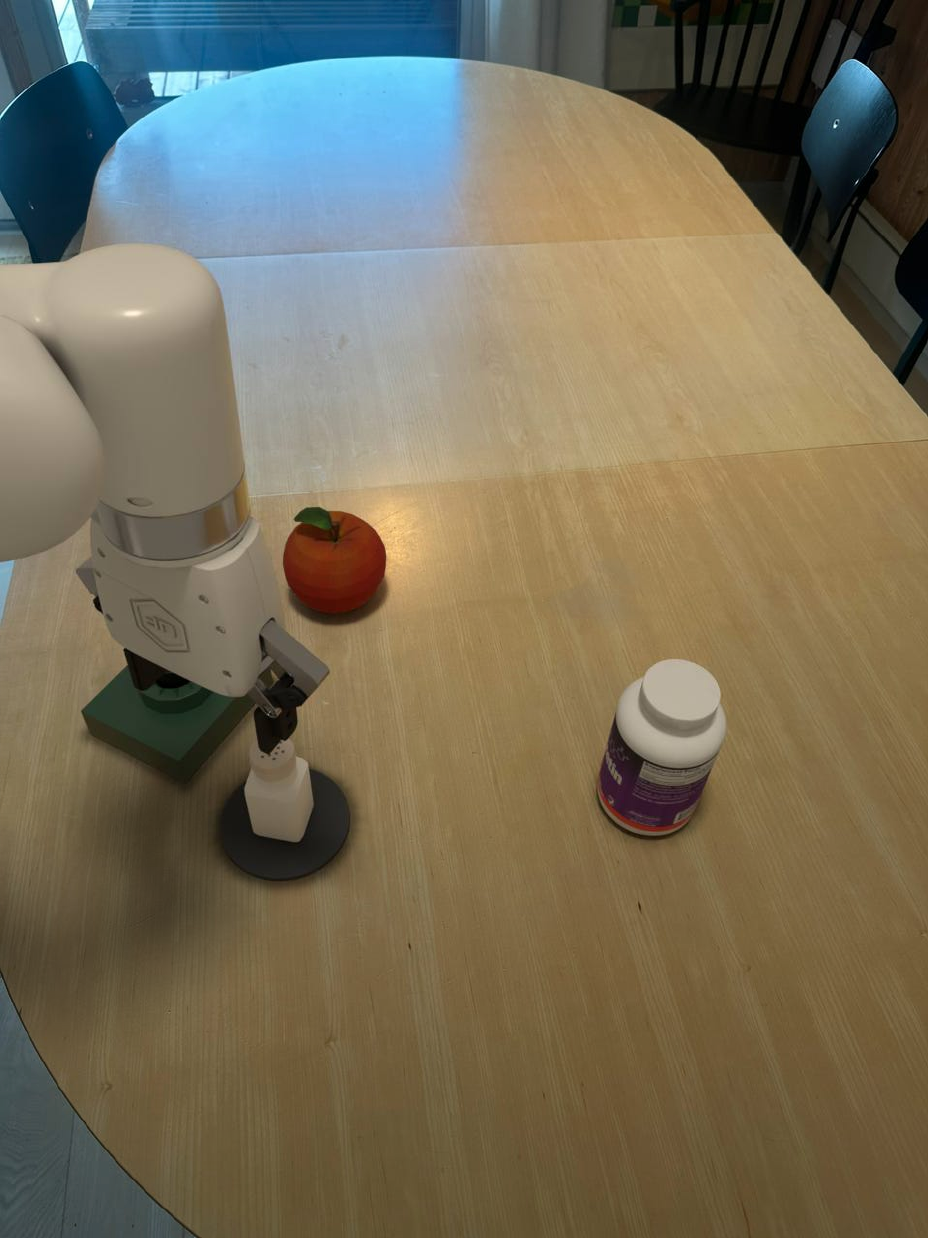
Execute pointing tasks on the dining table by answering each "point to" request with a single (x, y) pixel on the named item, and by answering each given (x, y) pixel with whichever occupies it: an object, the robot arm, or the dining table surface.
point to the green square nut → (166, 721)
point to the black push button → (171, 680)
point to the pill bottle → (662, 747)
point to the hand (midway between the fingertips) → (215, 705)
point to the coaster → (285, 856)
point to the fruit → (333, 560)
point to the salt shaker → (278, 792)
